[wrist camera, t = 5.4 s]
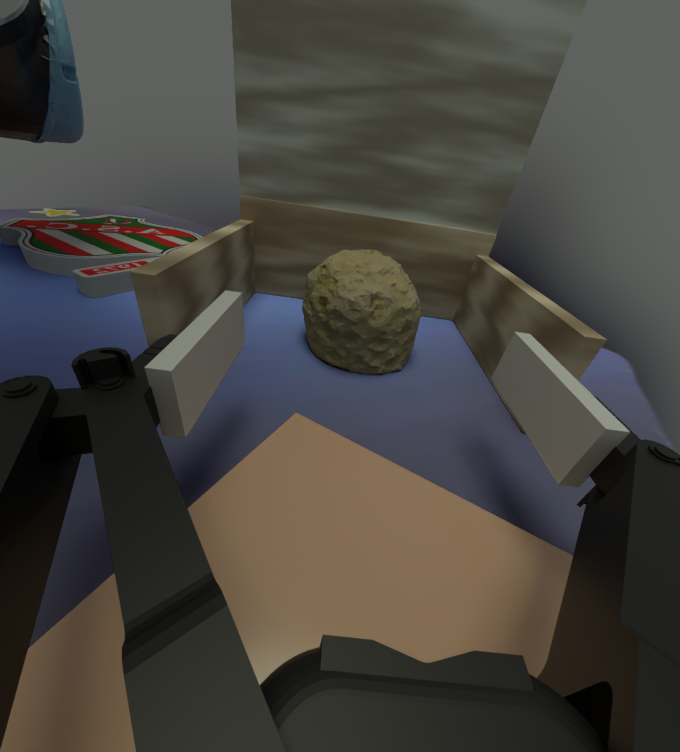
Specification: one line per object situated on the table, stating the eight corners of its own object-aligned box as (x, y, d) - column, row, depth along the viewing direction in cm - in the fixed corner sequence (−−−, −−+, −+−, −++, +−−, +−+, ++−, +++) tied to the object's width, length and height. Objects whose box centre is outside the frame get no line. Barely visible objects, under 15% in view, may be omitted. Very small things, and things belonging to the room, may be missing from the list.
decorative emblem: (83, 278, 26) (-50, 210, 37) (92, 304, 27) (-39, 231, 39) (247, 250, 40) (114, 206, 51) (247, 268, 41) (118, 222, 52)
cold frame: (540, 434, 20) (1422, -820, 5) (158, 385, 19) (-290, -1371, 4) (459, 317, 35) (605, -65, 20) (247, 286, 34) (229, -138, 19)
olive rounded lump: (360, 351, 33) (321, 261, 30) (453, 333, 27) (416, 214, 23) (310, 401, 27) (252, 293, 23) (416, 392, 20) (357, 241, 17)
